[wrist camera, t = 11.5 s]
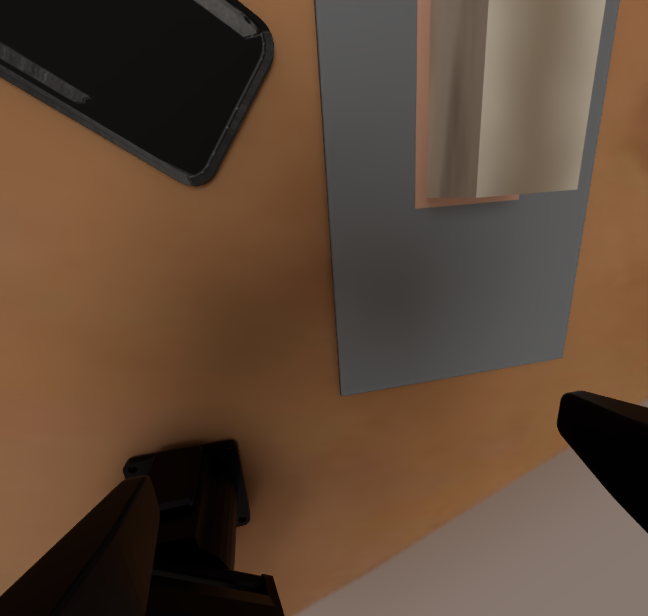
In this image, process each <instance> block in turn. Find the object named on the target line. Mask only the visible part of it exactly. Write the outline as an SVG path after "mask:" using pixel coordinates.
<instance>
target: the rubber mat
mask: <svg viewBox="0 0 648 616" xmlns="http://www.w3.org/2000/svg"><path fill="white" fill-rule="evenodd" d="M619 3H620V0H606V3H605V9H604V16H603V22H602V29H601V36H600V42H599V49H598V55H597V62H596V69H595V75H594V82H593V88H592V95H591V102H590V108H589V115H588V121H587V128H586V135H585V141H584V148H583V155H582V161H581V168H580V174H579V181H578V188H577V190H565V191H553V192H541V193H528V194H516V195H504V196H492V197H480V198H426V192H427V145H428V98H429V51H430V5H431V0H314V4H315V19H316V34H317V49H318V64H319V79H320V94H321V109H322V124H323V139H324V154H325V169H326V184H327V199H328V214H329V229H330V244H331V259H332V274H333V289H334V304H335V319H336V334H337V349H338V364H339V379H340V394H341V396H347V395H353V394H359V393H364V392H370V391H376V390H381V389H387V388H393V387H399V386H404V385H410V384H416V383H422V382H427V381H433V380H439V379H444V378H450V377H456V376H462V375H467V374H473V373H479V372H484V371H490V370H496V369H502V368H507V367H513V366H519V365H524V364H530V363H536V362H542V361H547V360H553V359H559V358H563V352H564V345H565V339H566V333H567V327H568V320H569V314H570V308H571V302H572V296H573V289H574V283H575V277H576V271H577V264H578V258H579V252H580V246H581V239H582V233H583V227H584V221H585V215H586V208H587V202H588V196H589V190H590V183H591V177H592V171H593V165H594V158H595V152H596V146H597V140H598V134H599V127H600V121H601V115H602V109H603V102H604V96H605V90H606V84H607V77H608V71H609V65H610V59H611V52H612V46H613V40H614V34H615V28H616V21H617V15H618V9H619Z"/></svg>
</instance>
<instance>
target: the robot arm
mask: <svg viewBox="0 0 648 616" xmlns="http://www.w3.org/2000/svg"><path fill="white" fill-rule="evenodd" d="M557 428H558V431H559V432H560V434H561V436H562V437H563V438H564V439H565V440H566V442H567V443H568V444H569V445H570V446H571V448H572V449H573V450H574V451H575V452H576V454H577V455H578V456H579V457H580V458H581V460H582V461H583V462H584V463H585V464H586V466H587V467H588V468H589V469H590V470H591V472H592V473H593V474H594V475H595V476H596V478H597V479H598V480H599V481H600V483H601V484H602V485H603V486H604V487H605V488H606V490H607V491H608V492H609V493H610V494H611V495H612V496H613V498H614V499H615V500H616V501H617V502H618V503H619V504H620V505H621V506H622V507H623V508H624V509H625V510H626V511H627V512H628V513H629V515H630V516H631V517H633V519H634V520H635V521H636V522H637V523H638V524H639V525H640V526H641V527H642V528H643V529H644V530H645V531H646V532H647V533H648V408H647V407H643V406H639V405H635V404H632V403H628V402H624V401H620V400H616V399H613V398H609V397H605V396H601V395H597V394H594V393H590V392H586V391H575V392H570V393H566V394H564V395H563V396H562V398H561V401H560V407H559V413H558V419H557ZM227 448H232V450H226V449H227ZM131 466H134V467H136V468H131ZM123 473H124V476H125V480H123V481H122V482H121V483H120V484H119V485H118V486H116V487H115V488H114V489H113V490H112V491H111V492H110V493H109V494H108V495H107V496H106V497H105V498H104V499H103V500H102V501H101V502H100V503H98V504H97V505H96V506H95V507H94V508H93V509H92V510H91V511H90V512H89V513H88V514H87V515H86V516H85V517H84V518H83V519H82V520H81V521H79V522H78V523H77V524H76V525H75V526H74V527H73V528H72V529H71V530H70V531H69V532H68V533H67V534H66V535H65V536H64V537H63V538H62V539H60V540H59V541H58V542H57V543H56V544H55V545H54V546H53V547H52V548H51V549H50V550H49V551H48V552H47V553H46V554H45V555H44V556H42V557H41V558H40V559H39V560H38V561H37V562H36V563H35V564H34V565H33V566H32V567H31V568H30V569H29V570H28V571H27V572H26V573H25V574H23V575H22V576H21V577H20V578H19V579H18V580H17V581H16V582H15V583H14V584H13V585H12V586H11V587H10V588H9V589H8V590H7V591H5V592H4V593H3V594H2V595H1V596H0V616H284V613H283V609H282V606H281V602H280V599H279V596H278V592H277V589H276V585H275V582H274V579H273V576H271V575H266V574H262V575H261V576H259V575H254V574H248V573H243V572H238V571H234V563H235V543H236V527H238V526H243V525H246V524H247V523H249V521H250V509H249V504H248V498H247V493H246V488H245V482H244V477H243V471H242V466H241V460H240V455H239V450H238V445H237V443H236V442H235V441H232V440H227V441H222V442H216V443H211V444H206V445H200V446H193V447H188V448H182V449H177V450H172V451H166V452H161V453H157V454H152V455H146V456H141V457H136V458H131V459H129V460H128V461H127V462H126V464H125V466H124V468H123Z"/></svg>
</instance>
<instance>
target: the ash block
mask: <svg viewBox="0 0 648 616" xmlns="http://www.w3.org/2000/svg"><path fill="white" fill-rule="evenodd" d="M605 3H606V0H431V5H430V51H429V98H428V145H427V192H426V198H480V197H492V196H504V195H516V194H528V193H541V192H553V191H565V190H577V188H578V181H579V174H580V168H581V161H582V155H583V148H584V141H585V135H586V128H587V121H588V115H589V108H590V102H591V95H592V88H593V82H594V75H595V69H596V62H597V55H598V49H599V42H600V36H601V29H602V22H603V16H604V9H605Z"/></svg>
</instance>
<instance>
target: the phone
mask: <svg viewBox="0 0 648 616" xmlns="http://www.w3.org/2000/svg"><path fill="white" fill-rule="evenodd" d="M273 54H274V43H273V38H272V34H271V32H270V31H269V29H268V27H267V25H266V24H265V23H264V22H263V21H262V20H261V19H260V18H259V17H258V16H257V15H255V14H254V13H253V12H252V11H250V10H249V9H248V8H247V7H245V6H244V5H243V4H242V3H240V2H239V1H238V0H0V77H1V78H3V79H5V80H6V81H8V82H10V83H12V84H13V85H15V86H17V87H18V88H20V89H22V90H23V91H25V92H27V93H29V94H30V95H32V96H34V97H35V98H37V99H39V100H41V101H42V102H44V103H46V104H47V105H49V106H51V107H53V108H54V109H56V110H58V111H59V112H61V113H63V114H64V115H66V116H68V117H70V118H71V119H73V120H75V121H76V122H78V123H80V124H82V125H83V126H85V127H87V128H88V129H90V130H92V131H94V132H95V133H97V134H99V135H100V136H102V137H104V138H105V139H107V140H109V141H111V142H112V143H114V144H116V145H117V146H119V147H121V148H123V149H124V150H126V151H128V152H129V153H131V154H133V155H134V156H136V157H138V158H140V159H141V160H143V161H145V162H146V163H148V164H150V165H152V166H153V167H155V168H157V169H158V170H160V171H162V172H164V173H165V174H167V175H169V176H170V177H172V178H174V179H175V180H177V181H179V182H181V183H184V184H186V185H192V186H200V185H204V184H206V183H208V182H209V181H211V180H212V178H213V177H214V176H215V174H216V172H217V171H218V169H219V167H220V165H221V163H222V161H223V159H224V157H225V155H226V153H227V151H228V149H229V147H230V145H231V143H232V141H233V139H234V137H235V136H236V134H237V132H238V130H239V128H240V126H241V124H242V122H243V120H244V118H245V116H246V114H247V112H248V110H249V108H250V106H251V104H252V102H253V101H254V99H255V97H256V95H257V93H258V91H259V89H260V87H261V85H262V83H263V81H264V79H265V77H266V75H267V73H268V71H269V69H270V67H271V64H272V61H273Z"/></svg>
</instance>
